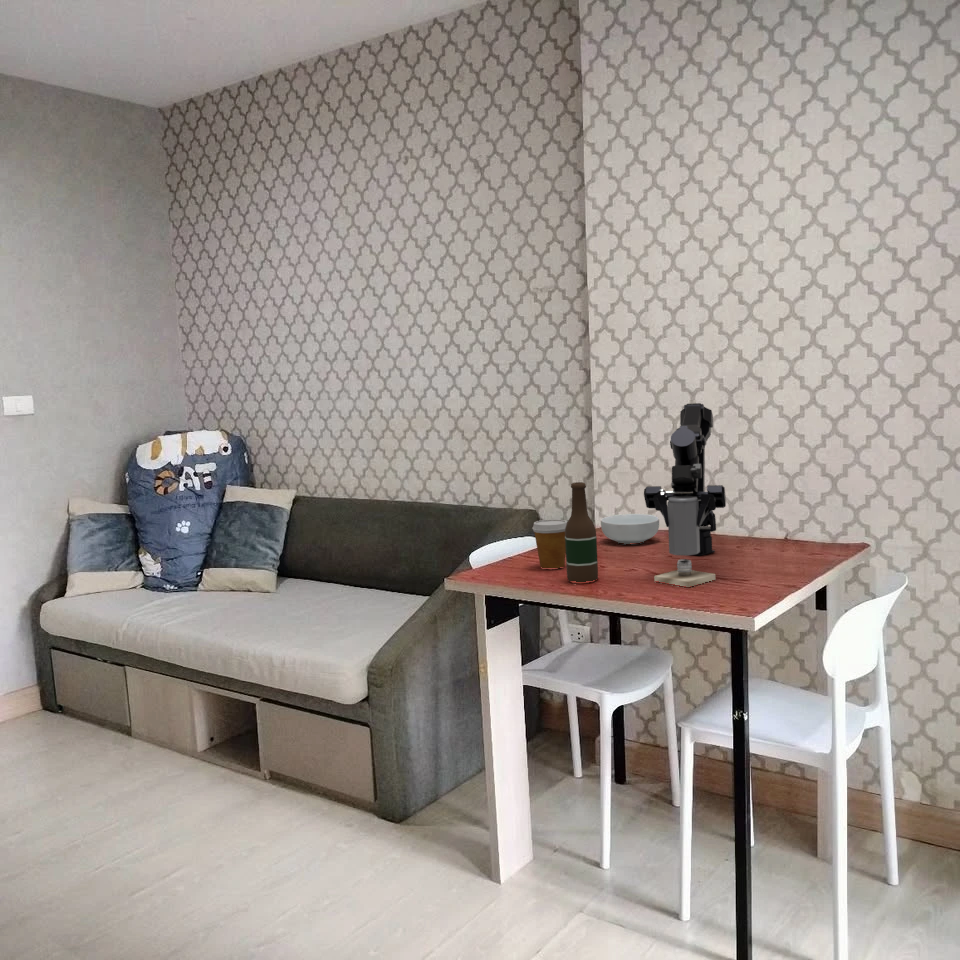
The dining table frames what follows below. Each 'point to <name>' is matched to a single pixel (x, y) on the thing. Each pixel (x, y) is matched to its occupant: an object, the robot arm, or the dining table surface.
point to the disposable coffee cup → (550, 542)
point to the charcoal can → (683, 525)
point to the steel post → (684, 567)
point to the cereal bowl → (630, 527)
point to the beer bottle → (580, 539)
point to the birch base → (685, 578)
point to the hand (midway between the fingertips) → (682, 525)
